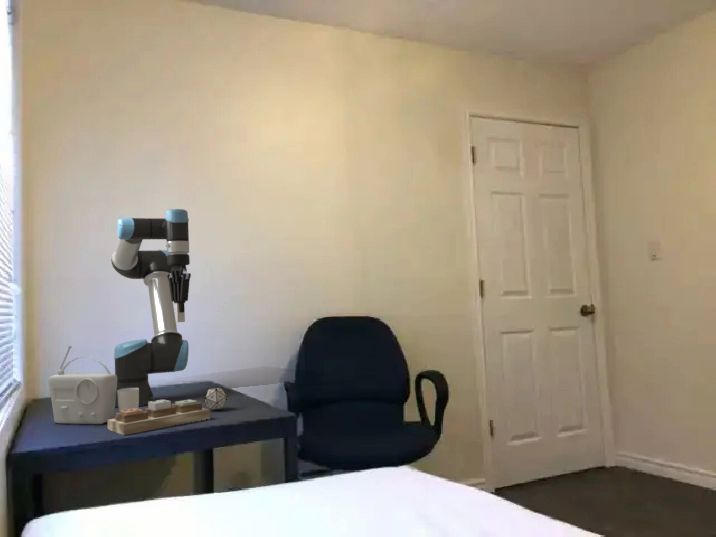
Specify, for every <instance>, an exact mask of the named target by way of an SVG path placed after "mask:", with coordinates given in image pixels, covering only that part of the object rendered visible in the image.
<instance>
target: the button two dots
mask: <svg viewBox="0 0 716 537" xmlns="http://www.w3.org/2000/svg"><path fill="white" fill-rule="evenodd" d="M171 404H172V403H171V400H167V399H157V400H154V401H151V402H148V407H147V408H148V409H151V410H161V409H167V408H171Z"/></svg>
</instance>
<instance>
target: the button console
mask: <svg viewBox="0 0 716 537" xmlns="http://www.w3.org/2000/svg"><path fill="white" fill-rule="evenodd" d="M206 419H208V420H210V419H211V410H209V408H204V407H203V402H199V401H197V404H191V405H185V406H180V405H176V404H175V402H174V403H171V408H167V409H161V410H151V409H148V407H144V408H143V413H136V414H130V415H124V414H120V412H119V411H118V412H114V418H113V419H108V420H107V422H106V423H107V430H109V431H111V432H114V433H117V434H119V435H122V436H127V435H132V434H136V433H143V432H149V431H153V430H158V429H164V428H170V427H175V425H176V426H179V425H180V424H181V425H186V424H190V423H191V422H192V423H197V422H202V421H206ZM201 420H202V421H201ZM196 421H197V422H196ZM185 423H186V424H185ZM181 425H180V426H181Z"/></svg>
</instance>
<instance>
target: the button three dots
mask: <svg viewBox="0 0 716 537" xmlns="http://www.w3.org/2000/svg"><path fill="white" fill-rule="evenodd" d="M143 411H144V409H141V408H139V409H138V408H133V409H127V410H120V414H124V415H130V414H136V413H143Z"/></svg>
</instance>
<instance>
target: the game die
mask: <svg viewBox="0 0 716 537" xmlns="http://www.w3.org/2000/svg"><path fill="white" fill-rule="evenodd" d="M206 389H207V391H206V395H205V397H203V399H204V400H202V402H201V403H204V404H206V406H207V409H209V410H210V411H211V410H213V411H214V410H221V409H222V410H223V411H225V408H224V407H225V403H226V401H227V400H228V398H229V395H227V394H226V393H225V391H224V389H223V385H221V387H216V388H209V387H208V386H207V387H206Z"/></svg>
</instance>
